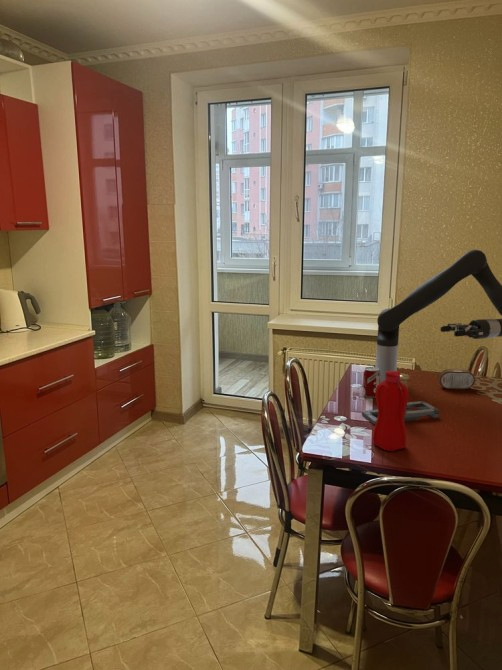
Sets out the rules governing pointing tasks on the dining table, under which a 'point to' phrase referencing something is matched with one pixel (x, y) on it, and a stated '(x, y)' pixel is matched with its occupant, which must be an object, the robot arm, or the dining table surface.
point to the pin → (404, 379)
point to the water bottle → (391, 413)
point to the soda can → (370, 381)
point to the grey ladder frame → (408, 412)
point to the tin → (456, 379)
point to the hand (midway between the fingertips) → (447, 331)
